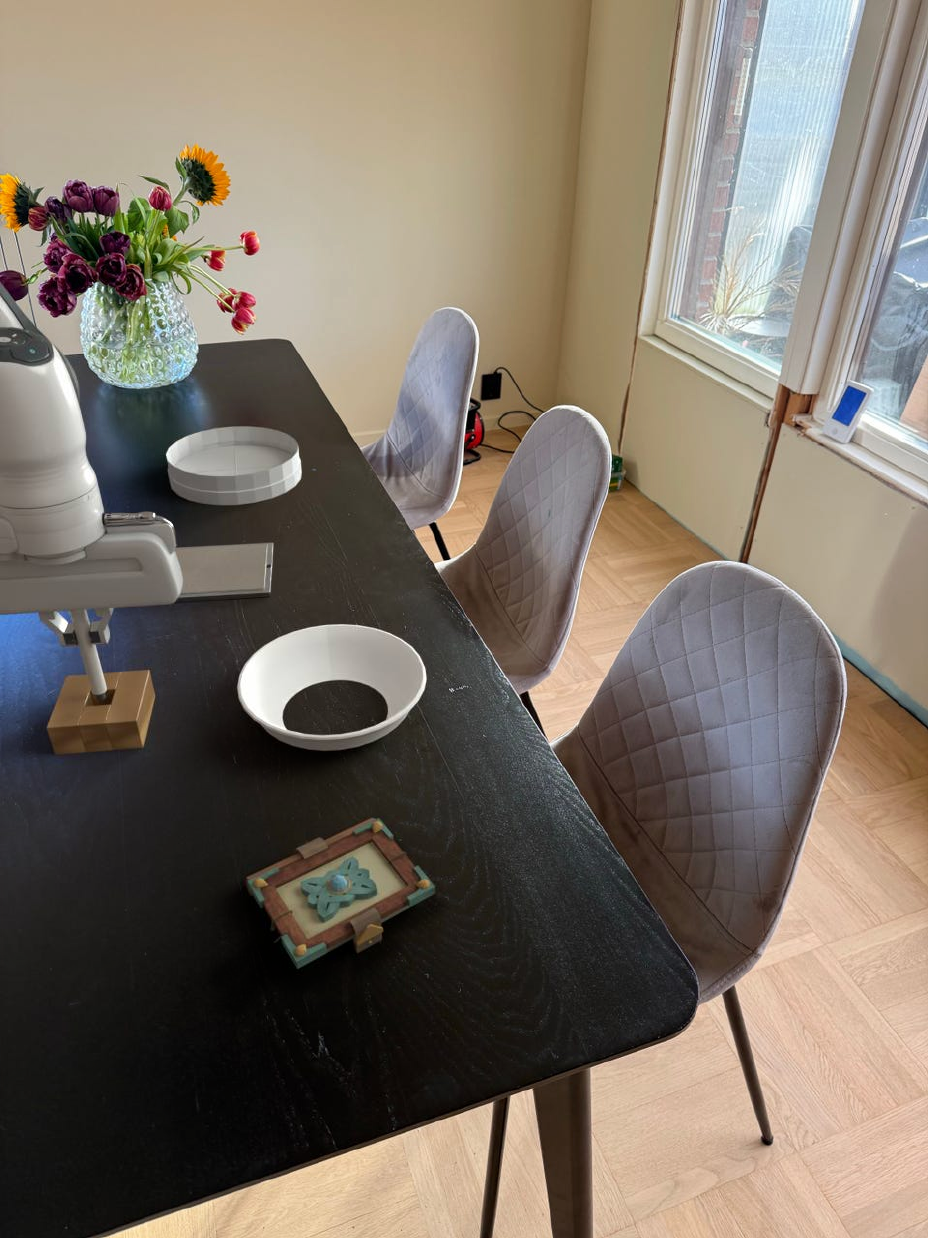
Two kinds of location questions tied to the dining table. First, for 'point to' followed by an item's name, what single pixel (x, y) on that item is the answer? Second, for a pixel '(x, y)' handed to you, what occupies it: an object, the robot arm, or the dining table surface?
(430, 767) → the dining table surface
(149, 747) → the dining table surface
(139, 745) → the holder
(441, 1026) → the dining table surface
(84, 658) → the stylus
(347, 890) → the decorative book
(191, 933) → the dining table surface
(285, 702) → the white flared ring
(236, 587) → the tablet
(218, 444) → the dish
